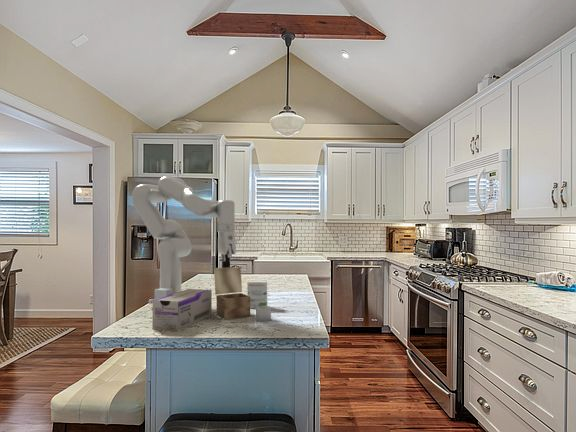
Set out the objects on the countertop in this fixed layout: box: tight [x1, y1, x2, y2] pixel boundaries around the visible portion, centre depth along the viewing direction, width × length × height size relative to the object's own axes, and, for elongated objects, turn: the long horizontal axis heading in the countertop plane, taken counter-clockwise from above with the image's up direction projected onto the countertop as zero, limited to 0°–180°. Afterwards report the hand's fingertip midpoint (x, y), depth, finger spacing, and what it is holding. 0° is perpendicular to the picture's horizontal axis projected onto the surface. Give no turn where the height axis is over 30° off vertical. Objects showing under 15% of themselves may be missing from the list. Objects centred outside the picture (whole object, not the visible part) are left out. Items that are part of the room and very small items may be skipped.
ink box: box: [246, 280, 268, 309], centre depth 175 cm, size 9×5×12 cm, turn 83°
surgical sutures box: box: [151, 288, 213, 332], centre depth 149 cm, size 25×11×11 cm, turn 164°
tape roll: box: [255, 305, 272, 323], centre depth 152 cm, size 6×6×5 cm
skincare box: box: [153, 287, 173, 299], centre depth 153 cm, size 6×4×12 cm
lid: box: [213, 266, 243, 295], centre depth 164 cm, size 12×11×2 cm
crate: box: [216, 292, 251, 321], centre depth 159 cm, size 11×10×8 cm
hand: (226, 270), depth 167 cm, fingers closed
